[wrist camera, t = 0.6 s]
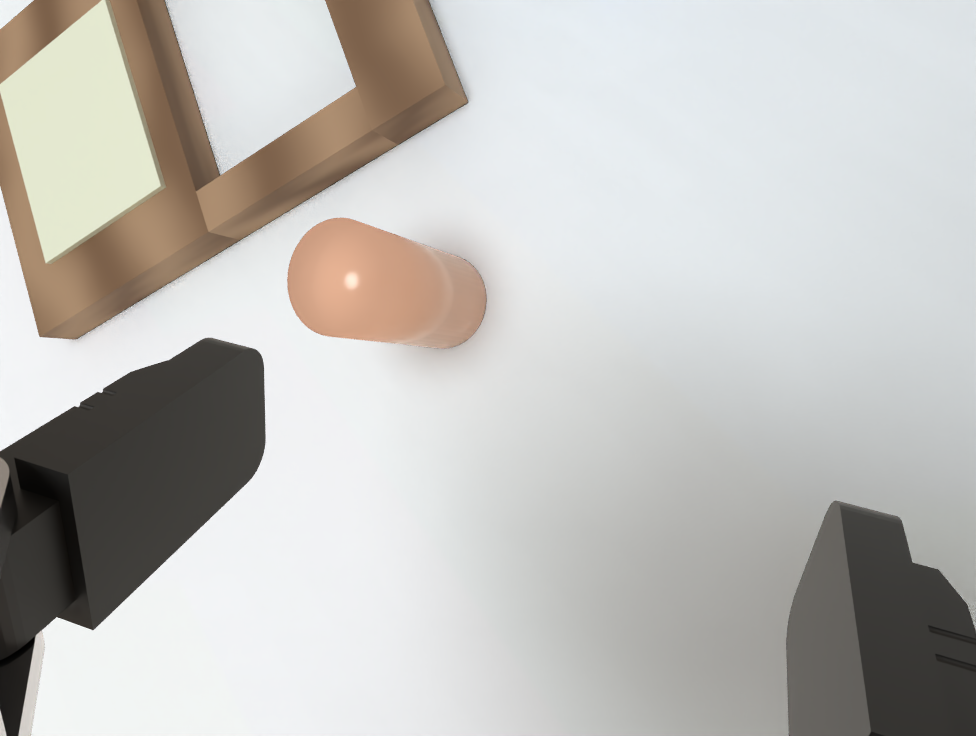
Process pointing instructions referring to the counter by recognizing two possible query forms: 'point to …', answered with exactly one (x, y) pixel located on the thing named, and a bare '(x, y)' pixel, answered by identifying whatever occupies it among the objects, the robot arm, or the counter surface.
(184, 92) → the hole board
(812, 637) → the robot arm
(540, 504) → the counter surface
